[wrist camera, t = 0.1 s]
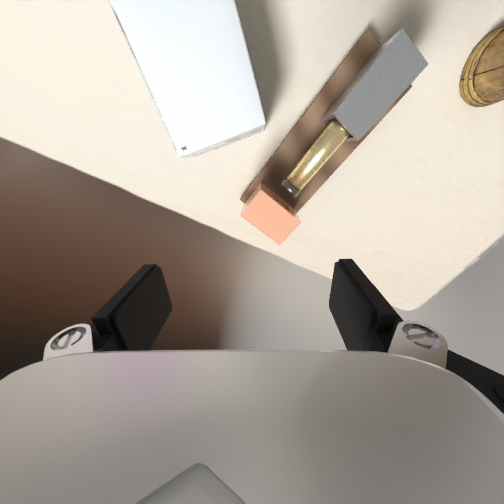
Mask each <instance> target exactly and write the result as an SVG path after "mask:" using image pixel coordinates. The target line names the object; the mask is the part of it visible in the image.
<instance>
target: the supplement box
mask: <svg viewBox="0 0 504 504" xmlns="http://www.w3.org/2000/svg"><path fill="white" fill-rule="evenodd" d="M108 1H109V3H110V6H111V8H112V10H113V12H114V14H115V17H116V19H117V21H118V23H119V25H120V27H121V30H122V32H123V34H124V36H125V38H126V40H127V43H128V45H129V47H130V50H131V52H132V54H133V56H134V58H135V60H136V62H137V65H138V67H139V69H140V71H141V73H142V76H143V78H144V80H145V82H146V85H147V87H148V89H149V91H150V94H151V96H152V98H153V100H154V102H155V105H156V107H157V109H158V111H159V114H160V116H161V118H162V120H163V123H164V125H165V127H166V129H167V132H168V134H169V136H170V138H171V141H172V143H173V146H174V148H175V151H176V153H177V156H178V158H184V157H194V156H199V155H201V154H204V153H206V152H209V151H212V150H214V149H217V148H220V147H222V146H225V145H228V144H230V143H233V142H236V141H238V140H241V139H244V138H246V137H249V136H252V135H254V134H257V133H259V132H262V131H264V129H265V124H266V120H265V116H264V112H263V108H262V103H261V99H260V95H259V91H258V87H257V83H256V79H255V75H254V72H253V68H252V64H251V60H250V56H249V52H248V48H247V44H246V40H245V36H244V33H243V29H242V25H241V21H240V17H239V13H238V10H237V6H236V2H235V0H108Z"/></svg>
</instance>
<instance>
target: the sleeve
mask: <svg viewBox="0 0 504 504" xmlns="http://www.w3.org/2000/svg"><path fill="white" fill-rule="evenodd" d="M427 65H428V63H427V61H426V60H425V59H424V57H423V56H422V54H421V53H420V52H419V50H418V49H417V47H416V46H415V45H414V43H413V42H412V40H411V39H410V38H409V36H408V35H407V33H406V32H405V31H404V29H403V28H402V29H401V30H400V31H399V32H398V33H396V34H395V35H394V36H393V37H392V38H390V39H389V40H388V41H387V42H386V43H384V44H383V45H382V46H381V47H380V48H378V49H377V50H376V51H375V52H374V53H373V54H372V55H371V56H370V58H369V59H368V60H367V62H366V63H365V64H364V65H363V67H362V68H361V69H360V70H359V72H358V73H357V74H356V75H355V77H354V78H353V79H352V80H351V82H350V83H349V84H348V85H347V87H346V88H345V89H344V91H343V92H342V93H341V94H340V96H339V97H338V98H337V99H336V101H335V102H334V103H333V104H332V106H331V107H330V108H329V109H328V111H327V112H326V113H325V115H324V116H323V117H322V118H321V121H322V122H323V123H324V124H325V125H326V126H327V127H328V125H329V124H330V123H331V122H332V120H333V119H334V118H336V119H337V120H338V121H339V122H340V123H341V124H342V125H343V126H344V128H345V129H346V130H347V131H348V132H349V133H350V135H349V136H348V137H347V139H346V140H345V141H344V142H346V141H359V140H360V139H361V138H362V137H363V136H364V135H365V133H366V132H367V131H368V130H369V129H370V128H371V127H372V126H373V125H374V124H375V122H376V121H377V120H378V119H379V118H380V117H381V116H382V115H383V114H384V113H385V111H386V110H387V109H388V108H389V107H390V106H391V105H392V104H393V103H394V101H395V100H396V99H397V98H398V97H399V96H400V95H401V94H402V93H403V92H404V90H405V89H406V88H407V87H408V86H409V85H410V84H411V83H412V82H413V81H414V79H415V78H416V77H417V76H418V75H419V74H420V73H421V72H422V71H423V69H424V68H425V67H426V66H427Z"/></svg>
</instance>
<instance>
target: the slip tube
mask: <svg viewBox="0 0 504 504" xmlns="http://www.w3.org/2000/svg"><path fill="white" fill-rule="evenodd" d="M349 135H350V133H349V132H348V131H347V130H346V129H345V128H344V126H343V125H342V124H341V123H340V122H339V121H338V120H337V119H336V118H334V119H333V120H332V122H331V123H330V124H329V125H328V127H327V128H326V129H325V130H324V131H323V133H322V134H321V135H320V136H319V138H318V139H317V140H316V141H315V142H314V144H313V145H312V146H311V147H310V149H309V150H308V151H307V152H306V153H305V155H304V156H303V157H302V158H301V160H300V161H299V162H298V163H297V164H296V166H295V167H294V168H293V169H292V171H291V172H290V173H289V174H288V175H287V177H286V178H284V179H283V181H282V182H281V183H280V185H281V186H282V187H283V188H284V189H285V190H286V191H287V192H289V193H290V194H291V195H292V196H293V197H295V198H296V196H297V195H298V194H299V193H300V191H301V190H302V189H303V188H304V186H305V185H306V184H307V183H308V182H309V181H310V180H311V178H312V177H313V176H314V175H315V174H316V173H317V172H318V170H319V169H320V168H321V167H322V166H323V165H324V164H325V162H326V161H327V160H328V159H329V158H330V157H331V156H332V154H333V153H334V152H335V151H336V150H337V149H338V148H339V147H340V145H341V144H342V143H343V142H344V141H345V140H346V139H347V137H348V136H349Z"/></svg>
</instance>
